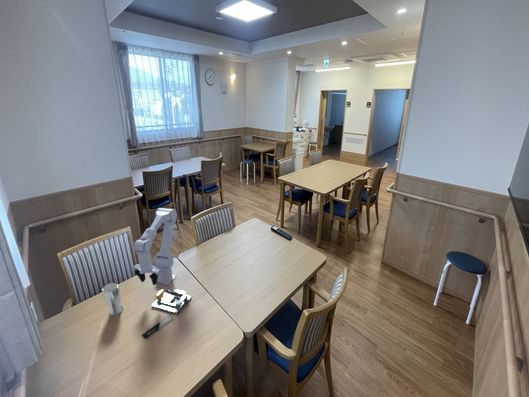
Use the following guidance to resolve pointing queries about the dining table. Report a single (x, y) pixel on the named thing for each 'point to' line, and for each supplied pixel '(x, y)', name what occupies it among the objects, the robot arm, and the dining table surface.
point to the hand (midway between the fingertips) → (149, 282)
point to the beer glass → (112, 298)
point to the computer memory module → (157, 327)
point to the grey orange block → (164, 297)
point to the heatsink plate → (177, 302)
